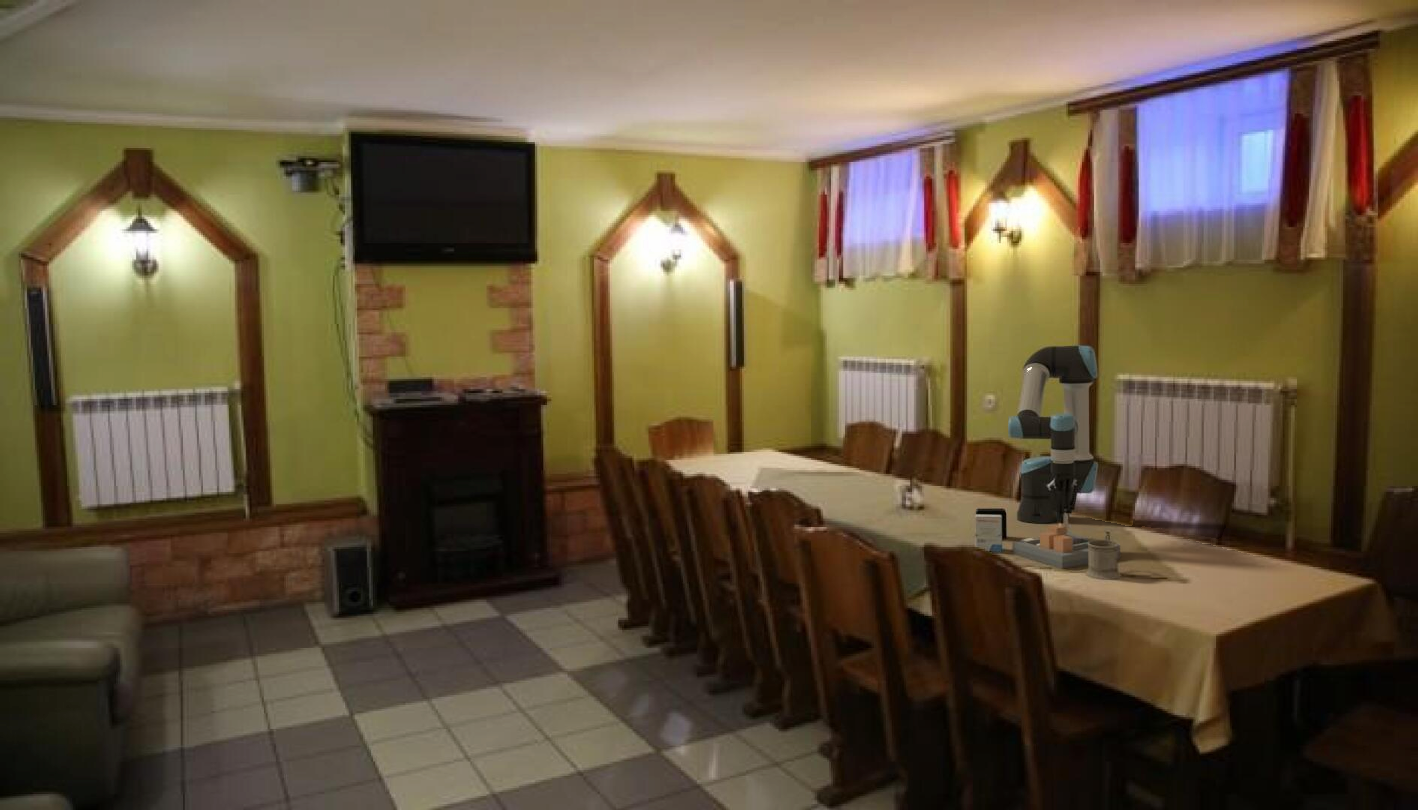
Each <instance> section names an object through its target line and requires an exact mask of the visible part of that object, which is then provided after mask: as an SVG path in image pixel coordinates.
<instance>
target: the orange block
mask: <svg viewBox="0 0 1418 810" xmlns="http://www.w3.org/2000/svg"><path fill="white" fill-rule="evenodd" d="M1054 551H1058V552H1062V553H1066V552H1072V551H1073V538H1072V537H1069V536H1065V535H1061V536H1055V537H1054Z"/></svg>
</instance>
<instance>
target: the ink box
mask: <svg viewBox="0 0 1418 810" xmlns="http://www.w3.org/2000/svg"><path fill="white" fill-rule="evenodd" d="M974 539H975V540H974V545H975V547H980V548H983V549H985V550H990V551H992V552H991V553H1002V552H1003V539H1002V515H981V514H976V513H975V516H974ZM975 547H974V548H975Z"/></svg>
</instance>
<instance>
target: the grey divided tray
mask: <svg viewBox="0 0 1418 810" xmlns="http://www.w3.org/2000/svg"><path fill="white" fill-rule="evenodd" d="M1066 536H1069V537H1072V538H1073V551H1072V552H1066V553H1062V552H1058V551H1054V548H1052V549H1047V548H1044V547H1040V536H1039V537H1034V538H1031V537H1030V538H1024V539H1020V540H1015V541H1012V545H1011V546H1012V547H1011V548H1012V555H1015V556H1019V557H1021V558H1025V559H1029V560H1031V561H1035V562H1039V563H1042V564H1045V565H1047V566H1052V567H1054V568H1058V569H1061V570H1064V569H1070V568H1074V567H1079V566H1085V565H1086V566H1087V565H1089V550H1088V542H1089V541H1092V540H1098V539H1096V538H1092V537H1088V536H1086V535H1081V534H1077V533H1073V532H1070V531H1068V533H1066ZM1118 559H1121V545H1120V544H1119V546H1118Z"/></svg>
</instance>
